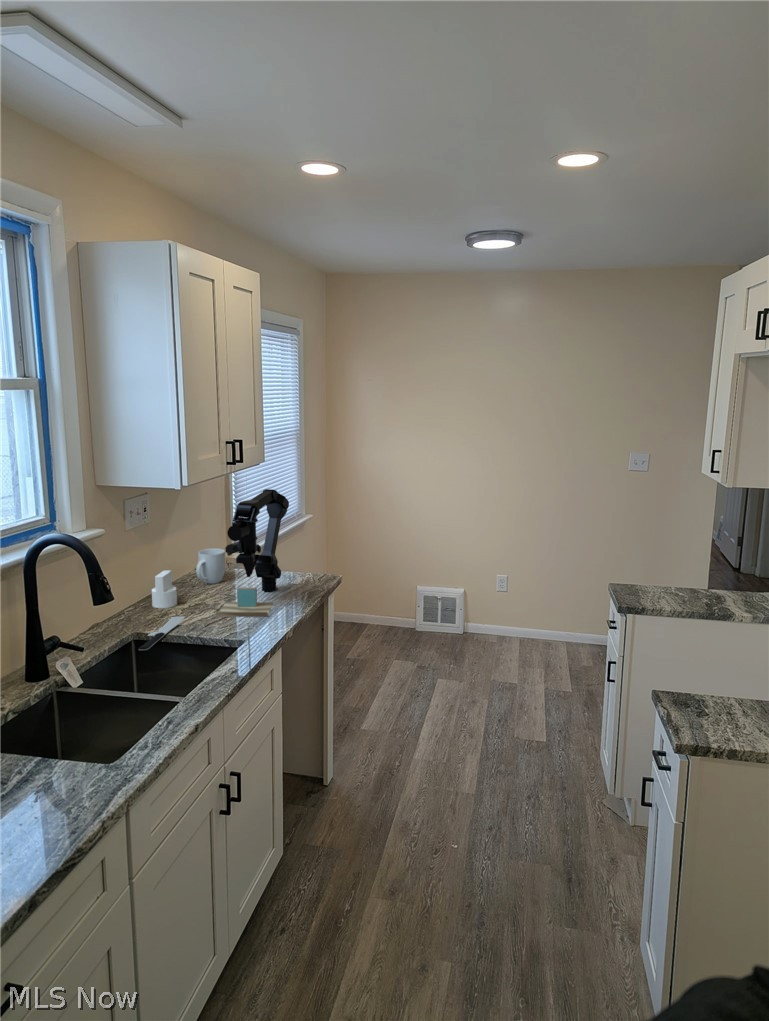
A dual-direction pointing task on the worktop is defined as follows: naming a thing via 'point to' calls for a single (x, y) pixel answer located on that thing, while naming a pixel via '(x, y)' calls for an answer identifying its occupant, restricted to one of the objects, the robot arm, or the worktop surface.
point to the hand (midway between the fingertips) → (249, 575)
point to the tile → (246, 597)
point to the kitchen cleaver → (161, 632)
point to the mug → (211, 565)
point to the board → (244, 610)
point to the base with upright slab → (164, 591)
